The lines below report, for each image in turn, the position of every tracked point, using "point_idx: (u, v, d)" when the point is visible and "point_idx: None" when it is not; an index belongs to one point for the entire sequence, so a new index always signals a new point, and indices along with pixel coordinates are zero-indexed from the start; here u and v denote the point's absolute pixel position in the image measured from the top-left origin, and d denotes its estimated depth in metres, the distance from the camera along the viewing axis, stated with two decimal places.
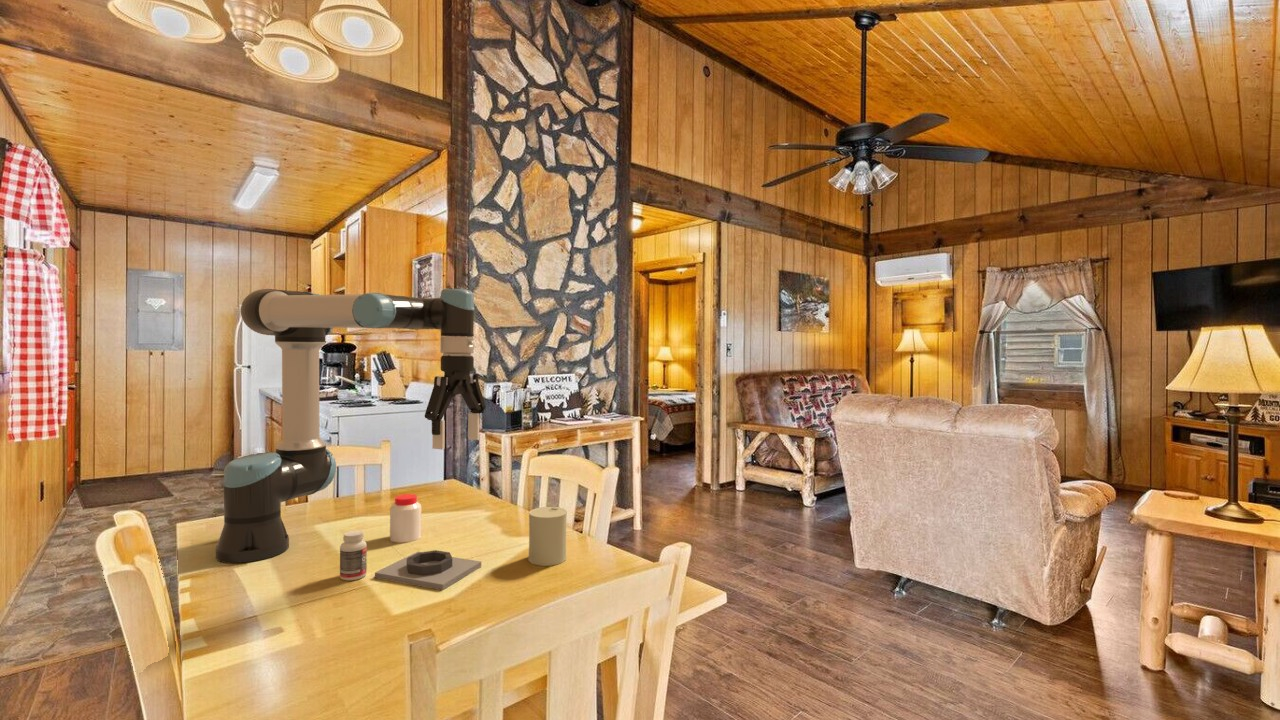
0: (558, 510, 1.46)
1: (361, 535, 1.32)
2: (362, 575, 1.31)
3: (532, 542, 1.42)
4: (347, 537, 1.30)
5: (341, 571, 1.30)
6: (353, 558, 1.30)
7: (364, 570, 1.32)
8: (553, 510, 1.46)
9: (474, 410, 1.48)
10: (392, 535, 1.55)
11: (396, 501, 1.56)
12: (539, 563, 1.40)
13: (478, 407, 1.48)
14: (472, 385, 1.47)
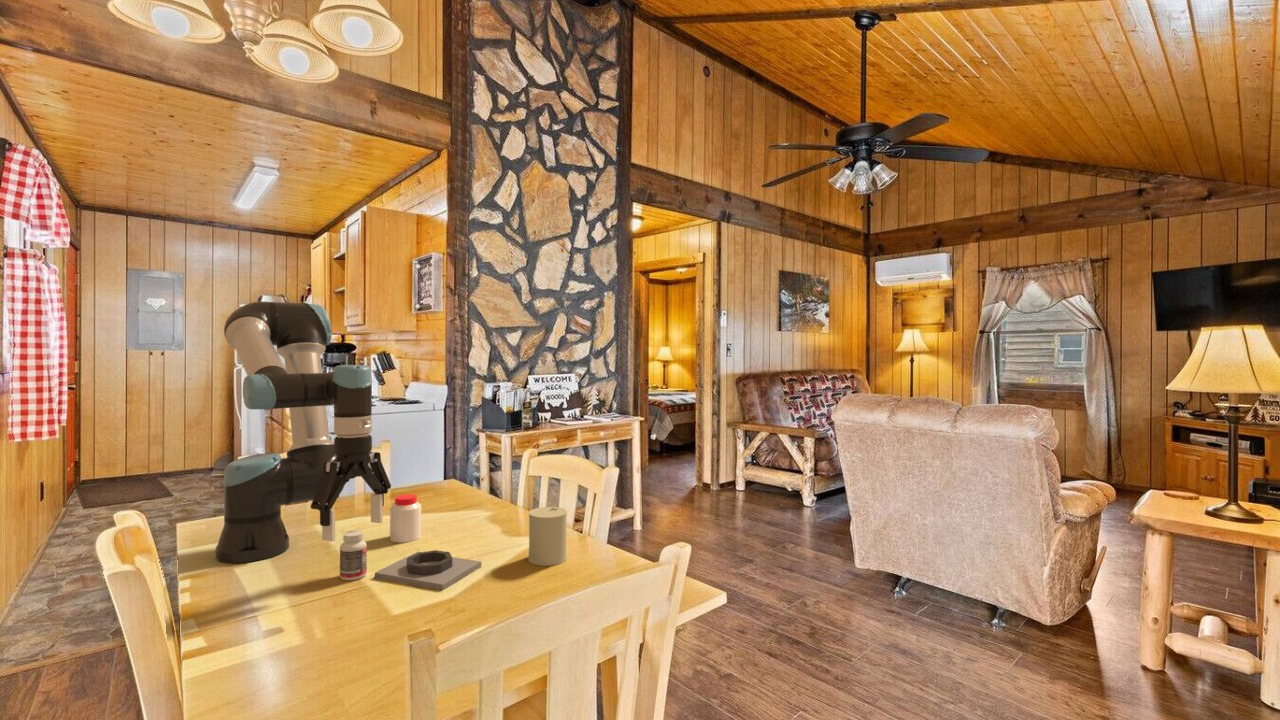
0: (558, 510, 1.46)
1: (361, 535, 1.32)
2: (362, 575, 1.31)
3: (532, 542, 1.42)
4: (347, 537, 1.30)
5: (341, 571, 1.30)
6: (353, 558, 1.30)
7: (364, 570, 1.32)
8: (553, 510, 1.46)
9: (377, 490, 1.38)
10: (392, 535, 1.55)
11: (396, 501, 1.56)
12: (539, 563, 1.40)
13: (381, 488, 1.38)
14: (374, 464, 1.37)
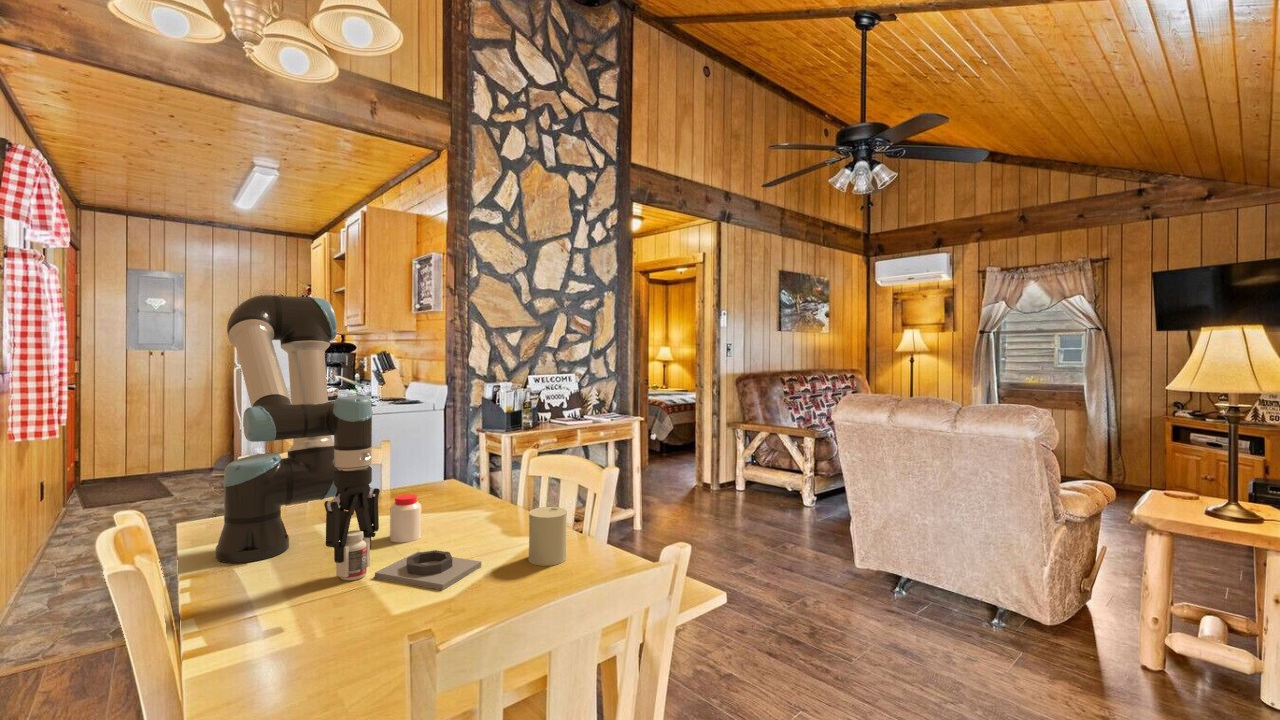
0: (558, 510, 1.46)
1: (361, 535, 1.32)
2: (362, 575, 1.31)
3: (532, 542, 1.42)
4: (347, 537, 1.30)
5: None
6: (354, 558, 1.30)
7: (364, 570, 1.32)
8: (553, 510, 1.46)
9: (364, 532, 1.35)
10: (392, 535, 1.55)
11: (396, 501, 1.56)
12: (539, 563, 1.40)
13: (370, 529, 1.35)
14: (370, 500, 1.37)
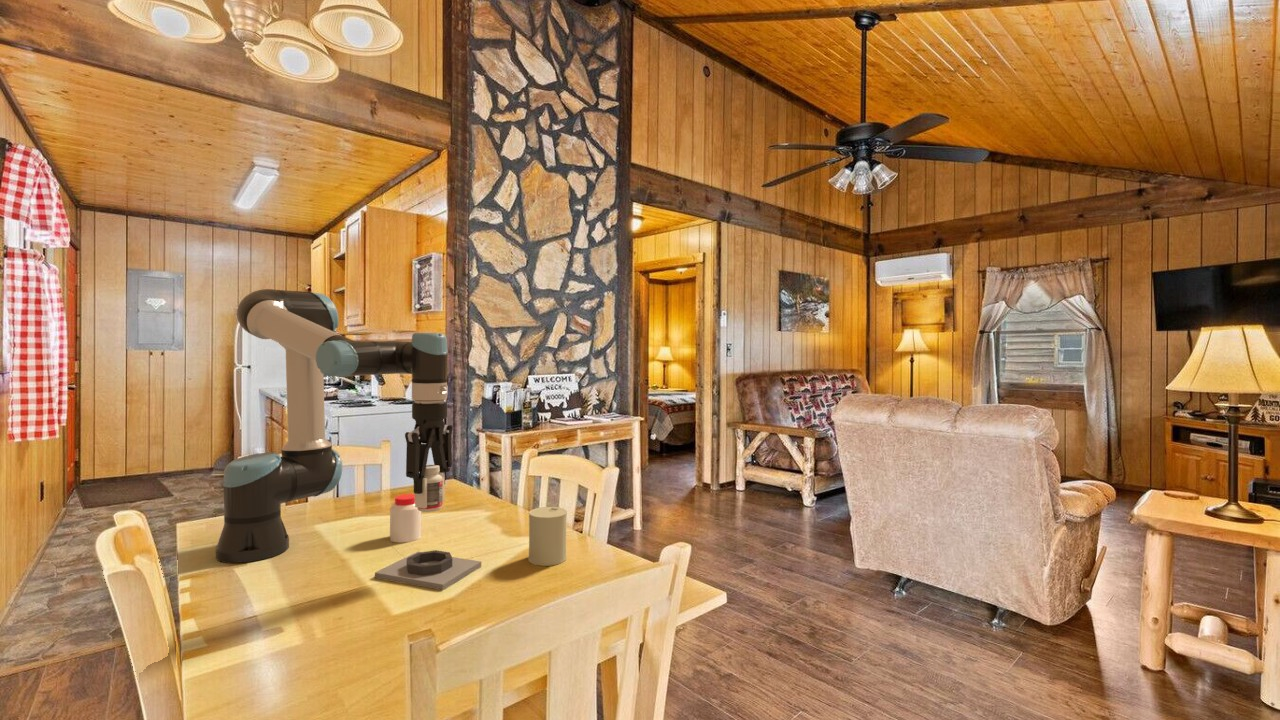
0: (558, 510, 1.46)
1: (438, 468, 1.34)
2: (439, 507, 1.34)
3: (532, 542, 1.42)
4: (425, 470, 1.33)
5: None
6: (432, 490, 1.32)
7: (441, 503, 1.34)
8: (553, 510, 1.46)
9: None
10: (392, 535, 1.55)
11: (396, 501, 1.56)
12: (539, 563, 1.40)
13: (444, 464, 1.38)
14: (444, 436, 1.39)
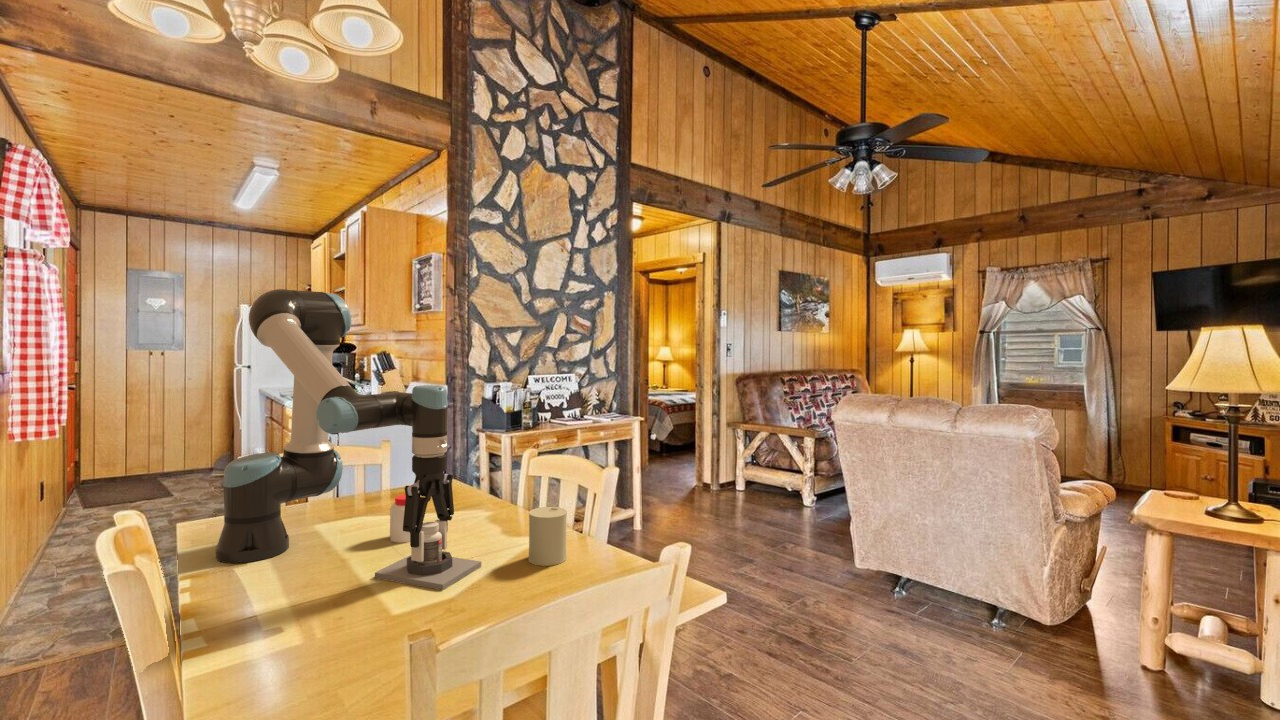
0: (558, 510, 1.46)
1: (437, 526, 1.35)
2: None
3: (532, 542, 1.42)
4: (424, 528, 1.33)
5: None
6: (431, 549, 1.33)
7: (440, 560, 1.35)
8: (553, 510, 1.46)
9: (441, 516, 1.39)
10: (392, 535, 1.55)
11: (396, 501, 1.56)
12: (539, 563, 1.40)
13: (446, 513, 1.39)
14: (444, 486, 1.40)
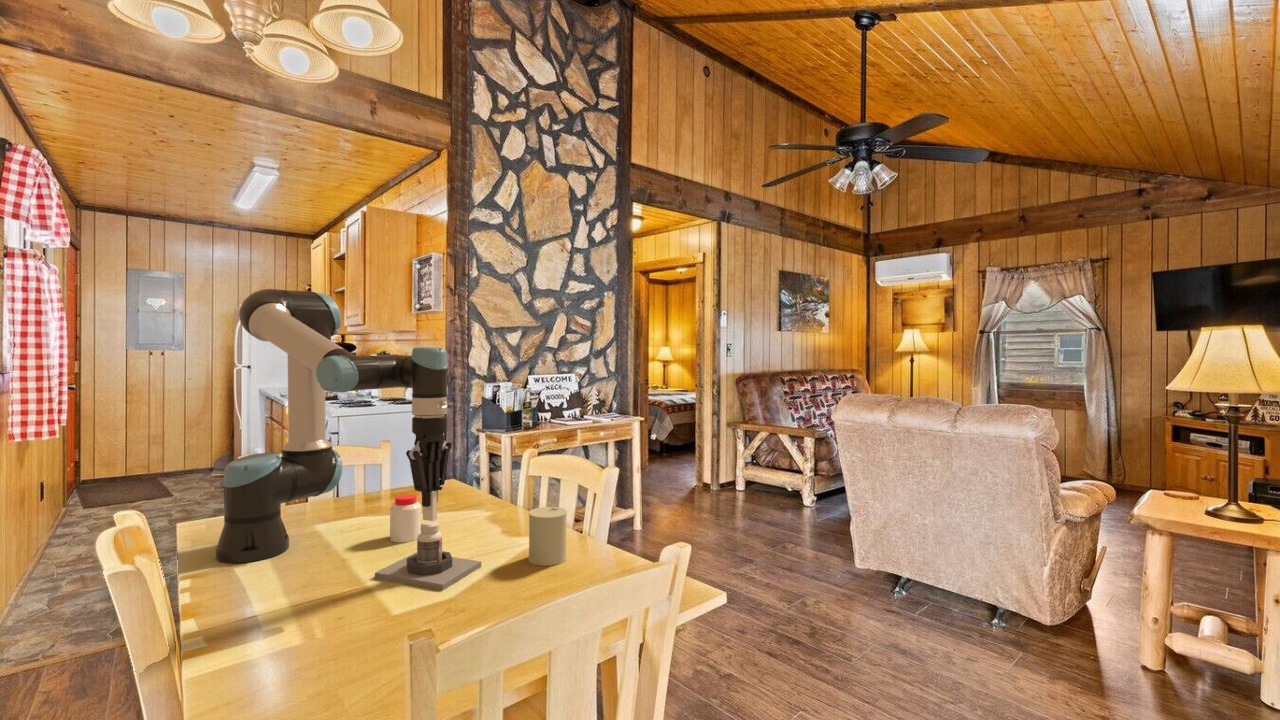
0: (558, 510, 1.46)
1: (437, 526, 1.35)
2: None
3: (532, 542, 1.42)
4: (425, 528, 1.33)
5: (419, 561, 1.33)
6: (431, 549, 1.33)
7: (440, 560, 1.35)
8: (553, 510, 1.46)
9: (432, 485, 1.36)
10: (392, 535, 1.55)
11: (396, 501, 1.56)
12: (539, 563, 1.40)
13: (438, 482, 1.36)
14: (441, 452, 1.38)
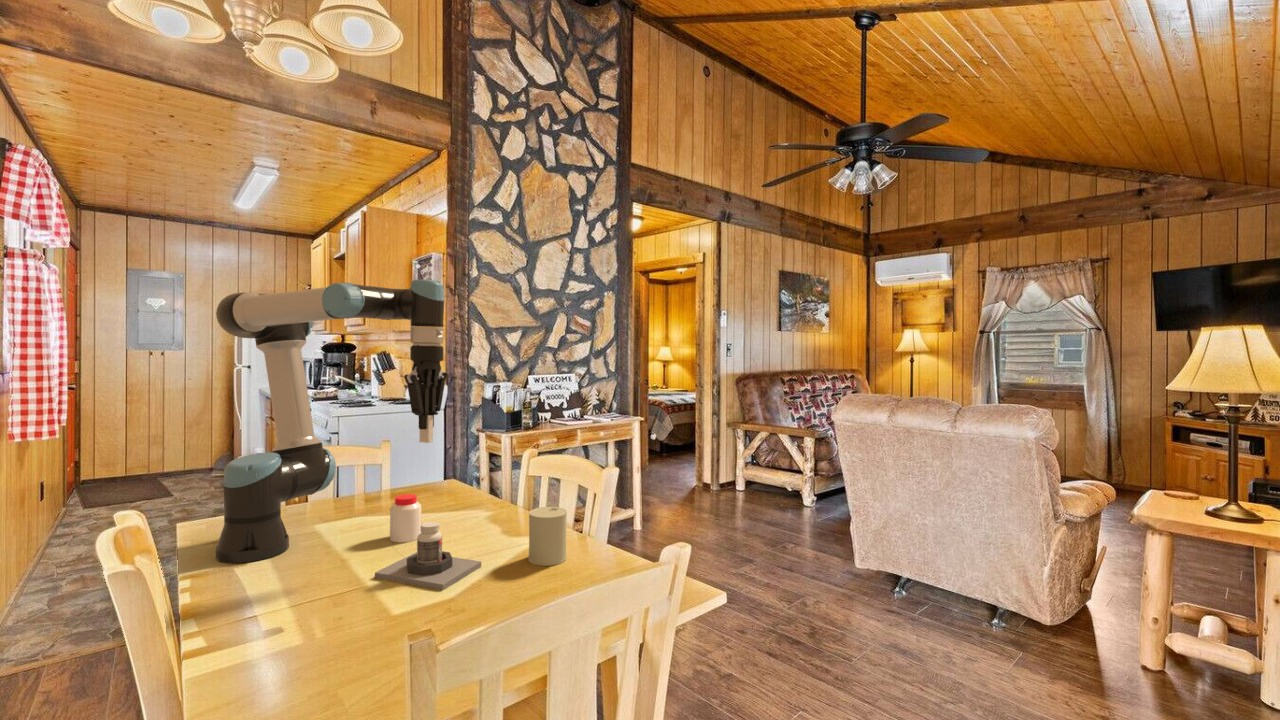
0: (558, 510, 1.46)
1: (437, 526, 1.35)
2: None
3: (532, 542, 1.42)
4: (425, 528, 1.33)
5: (419, 561, 1.33)
6: (431, 549, 1.33)
7: (440, 560, 1.35)
8: (553, 510, 1.46)
9: (428, 410, 1.45)
10: (392, 535, 1.55)
11: (396, 501, 1.56)
12: (539, 563, 1.40)
13: (434, 407, 1.45)
14: (438, 381, 1.48)
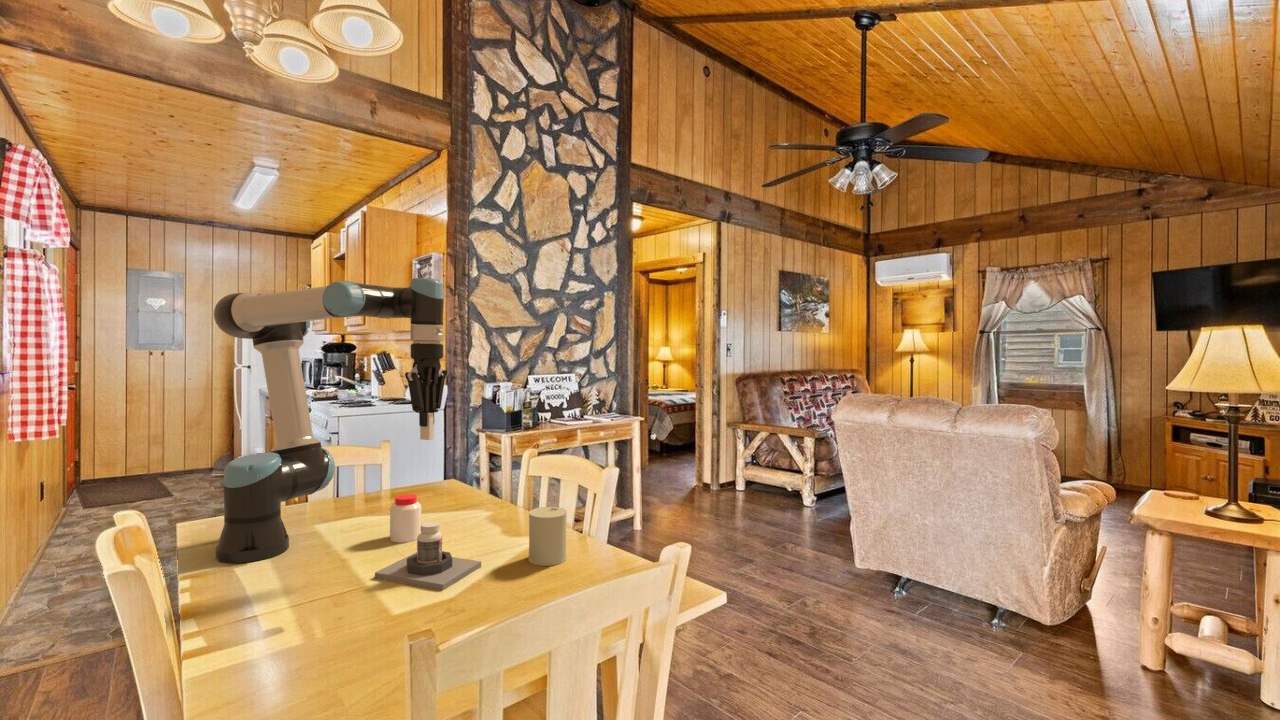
0: (558, 510, 1.46)
1: (437, 526, 1.35)
2: None
3: (532, 542, 1.42)
4: (425, 528, 1.33)
5: (419, 561, 1.33)
6: (431, 549, 1.33)
7: (440, 560, 1.35)
8: (553, 510, 1.46)
9: (429, 408, 1.46)
10: (392, 535, 1.55)
11: (396, 501, 1.56)
12: (539, 563, 1.40)
13: (434, 405, 1.46)
14: (438, 379, 1.49)
